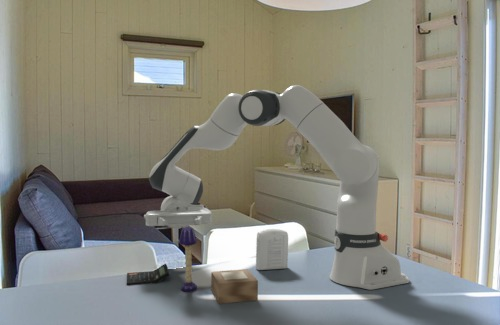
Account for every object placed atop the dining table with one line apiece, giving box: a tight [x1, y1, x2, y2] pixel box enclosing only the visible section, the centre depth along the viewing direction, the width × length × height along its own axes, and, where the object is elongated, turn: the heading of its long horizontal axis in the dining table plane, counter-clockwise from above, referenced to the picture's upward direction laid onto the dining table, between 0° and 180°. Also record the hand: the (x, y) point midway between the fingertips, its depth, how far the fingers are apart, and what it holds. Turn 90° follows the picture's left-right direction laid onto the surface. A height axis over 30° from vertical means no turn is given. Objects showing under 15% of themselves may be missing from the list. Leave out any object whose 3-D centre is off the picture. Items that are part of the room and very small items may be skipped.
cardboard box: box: [210, 268, 259, 305], centre depth 117 cm, size 10×10×5 cm
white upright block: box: [255, 228, 289, 271], centre depth 140 cm, size 10×4×12 cm, turn 107°
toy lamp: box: [178, 226, 198, 293], centre depth 120 cm, size 5×5×17 cm
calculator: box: [126, 263, 170, 286], centre depth 130 cm, size 9×12×3 cm
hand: (181, 222), depth 131 cm, fingers open, 8 cm apart
